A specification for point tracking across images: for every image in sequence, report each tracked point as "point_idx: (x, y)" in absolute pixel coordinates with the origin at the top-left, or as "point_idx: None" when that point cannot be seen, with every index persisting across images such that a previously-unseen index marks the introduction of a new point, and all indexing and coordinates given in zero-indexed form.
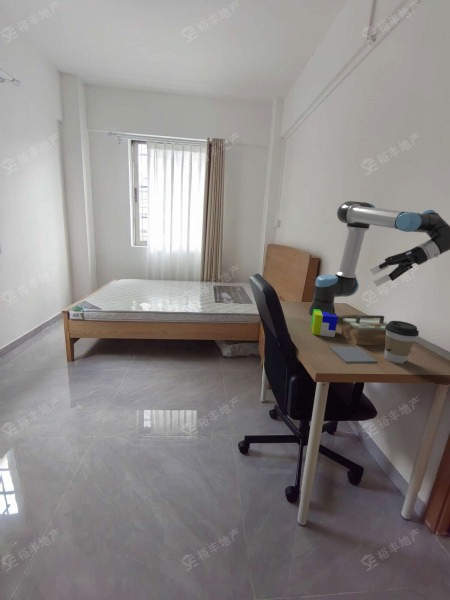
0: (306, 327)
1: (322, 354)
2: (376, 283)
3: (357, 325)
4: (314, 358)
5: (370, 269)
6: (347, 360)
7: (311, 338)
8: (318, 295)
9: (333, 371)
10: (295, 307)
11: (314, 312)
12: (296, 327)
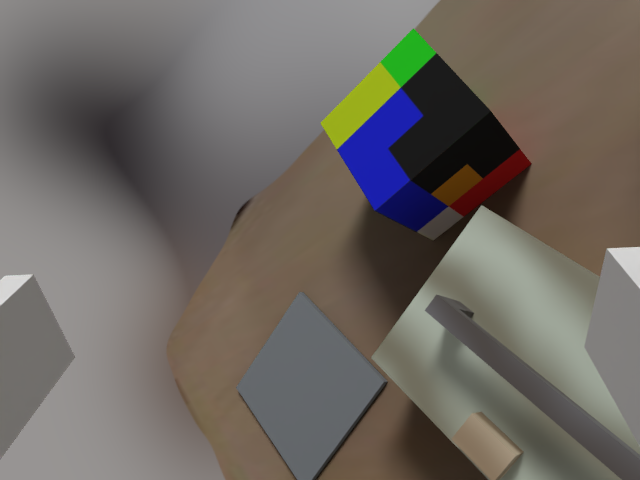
0: None
1: (246, 301)
2: (604, 326)
3: (408, 335)
4: (212, 298)
5: (3, 280)
6: (244, 388)
7: (336, 192)
8: None
9: (182, 376)
10: None
11: (363, 82)
12: None
